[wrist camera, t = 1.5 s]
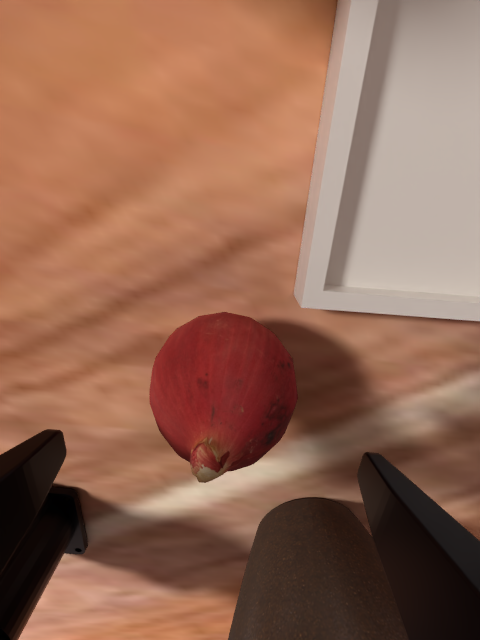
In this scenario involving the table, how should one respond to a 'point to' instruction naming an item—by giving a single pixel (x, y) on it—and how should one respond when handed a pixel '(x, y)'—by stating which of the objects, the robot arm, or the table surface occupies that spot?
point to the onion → (222, 392)
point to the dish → (397, 164)
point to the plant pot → (315, 579)
